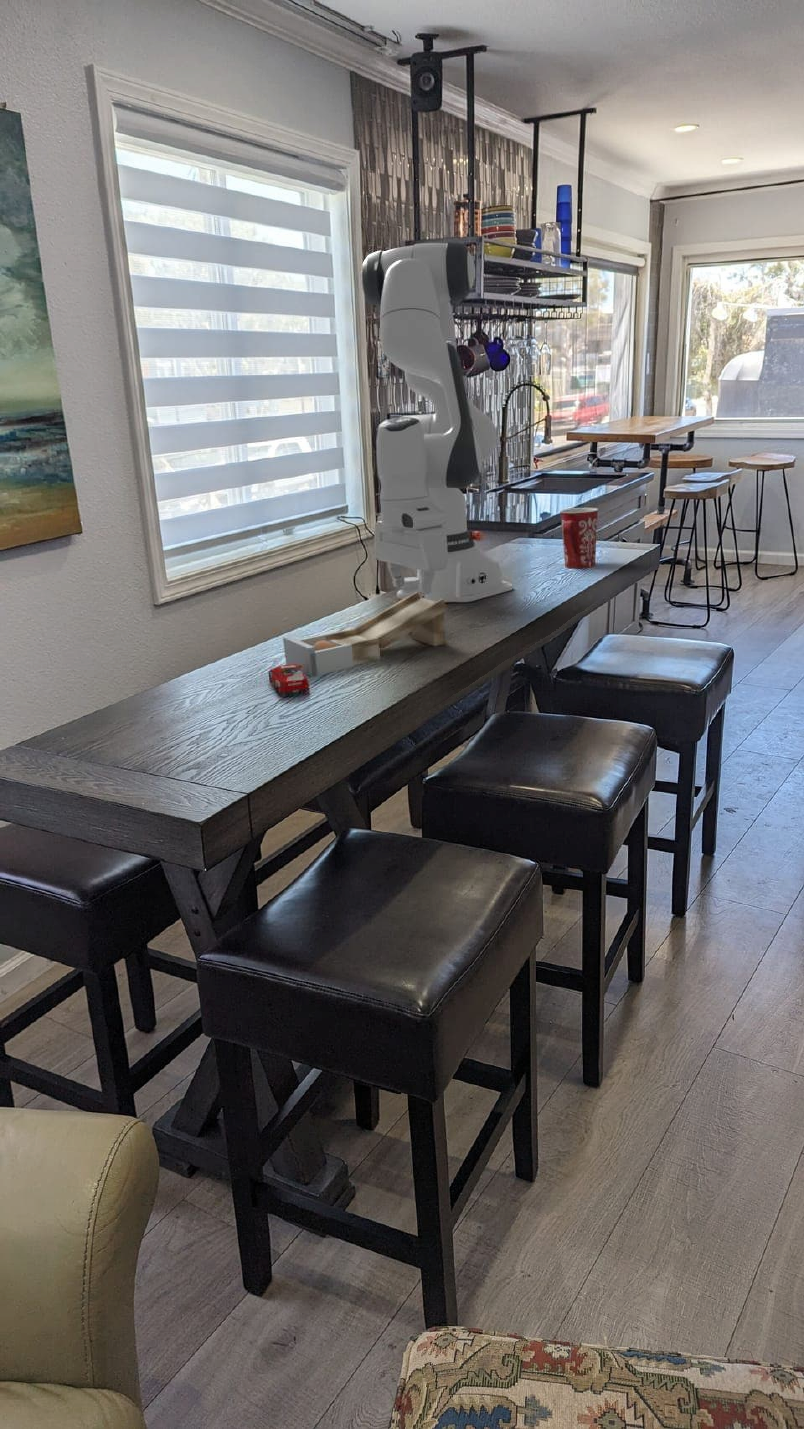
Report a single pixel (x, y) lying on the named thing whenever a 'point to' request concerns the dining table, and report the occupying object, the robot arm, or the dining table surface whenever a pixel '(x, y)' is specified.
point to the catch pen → (317, 655)
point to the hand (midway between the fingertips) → (411, 590)
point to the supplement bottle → (409, 588)
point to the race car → (288, 680)
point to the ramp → (394, 628)
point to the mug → (579, 536)
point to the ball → (322, 645)
